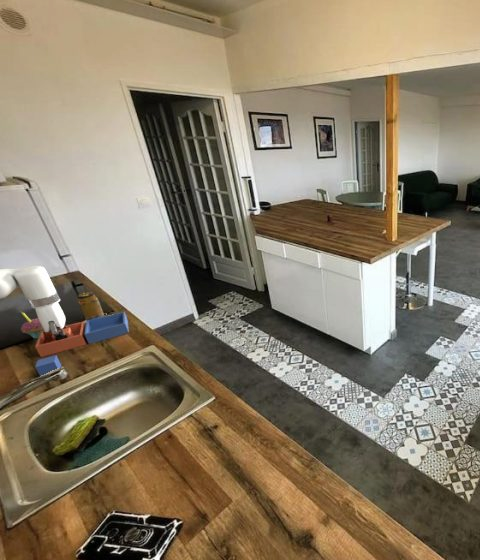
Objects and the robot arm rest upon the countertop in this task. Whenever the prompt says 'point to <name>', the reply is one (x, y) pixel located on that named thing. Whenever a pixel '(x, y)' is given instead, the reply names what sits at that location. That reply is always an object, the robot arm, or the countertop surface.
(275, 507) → the countertop surface
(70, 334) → the terracotta block
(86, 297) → the condiment
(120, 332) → the blue bin
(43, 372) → the blue block
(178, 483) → the countertop surface
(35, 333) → the cupcake
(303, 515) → the countertop surface
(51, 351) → the terracotta bin
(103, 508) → the countertop surface
